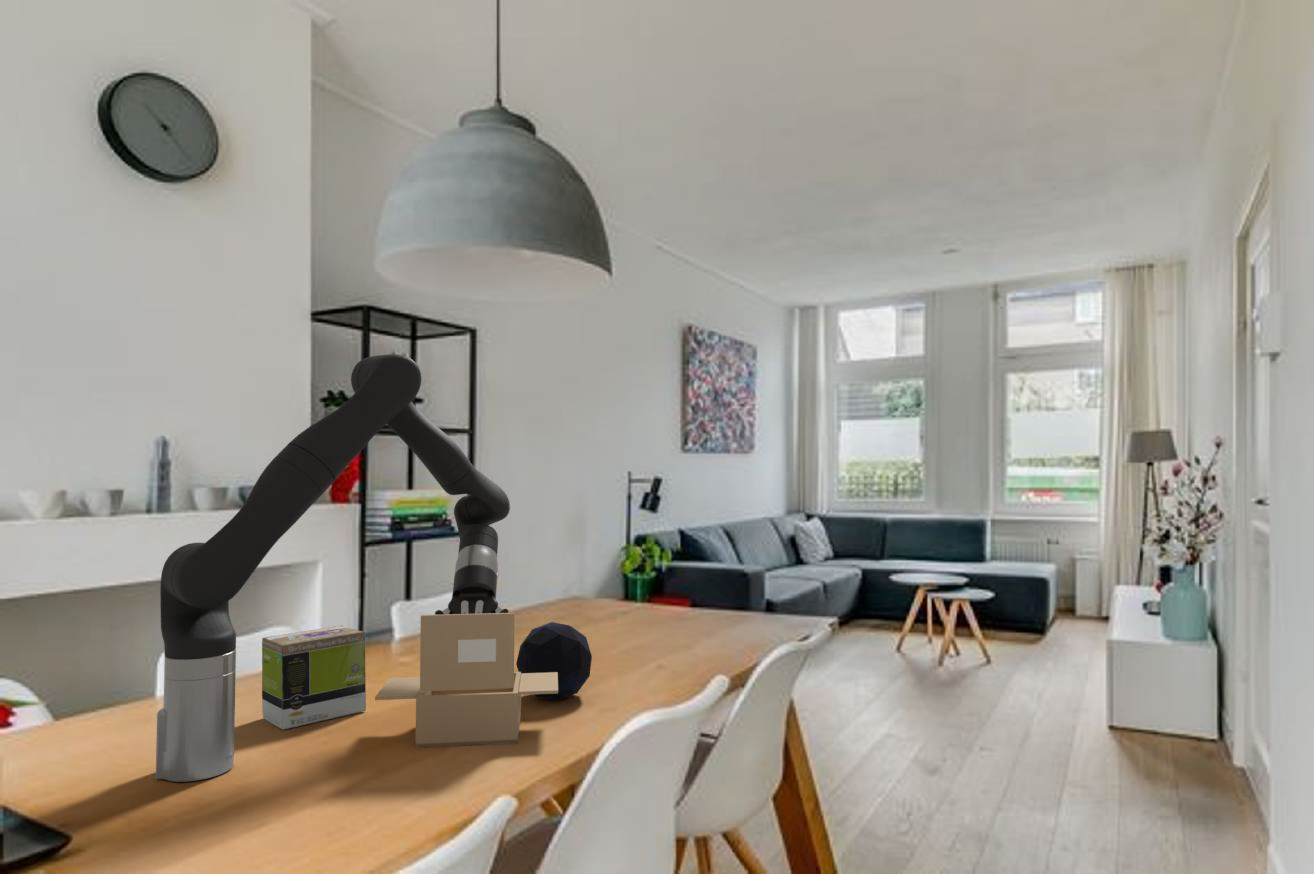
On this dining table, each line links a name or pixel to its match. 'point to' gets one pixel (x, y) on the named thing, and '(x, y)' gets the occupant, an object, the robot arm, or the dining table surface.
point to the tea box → (313, 676)
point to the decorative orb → (557, 657)
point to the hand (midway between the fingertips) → (468, 661)
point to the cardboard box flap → (467, 651)
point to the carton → (468, 710)
